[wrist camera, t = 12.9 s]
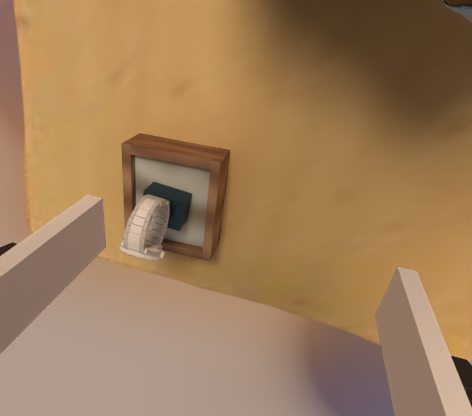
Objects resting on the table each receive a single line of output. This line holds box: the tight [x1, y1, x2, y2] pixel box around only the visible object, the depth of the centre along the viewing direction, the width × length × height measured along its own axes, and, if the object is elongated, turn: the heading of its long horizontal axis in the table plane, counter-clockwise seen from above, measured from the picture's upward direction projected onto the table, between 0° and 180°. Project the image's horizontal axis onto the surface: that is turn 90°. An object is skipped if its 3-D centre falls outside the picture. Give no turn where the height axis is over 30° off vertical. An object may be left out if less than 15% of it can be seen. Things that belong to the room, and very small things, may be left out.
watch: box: [119, 182, 192, 260], centre depth 42 cm, size 6×8×11 cm
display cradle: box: [122, 134, 230, 261], centre depth 48 cm, size 15×13×5 cm
